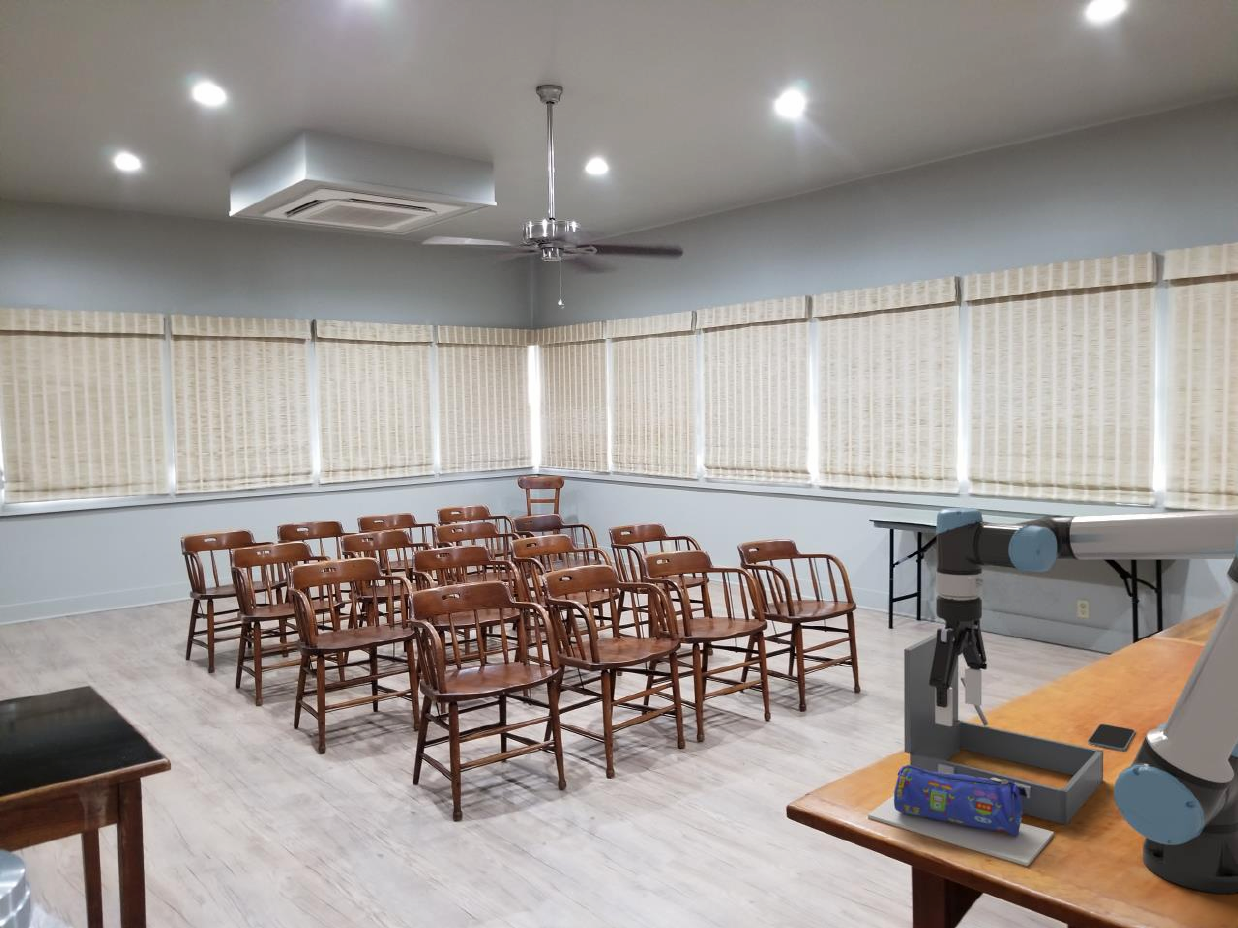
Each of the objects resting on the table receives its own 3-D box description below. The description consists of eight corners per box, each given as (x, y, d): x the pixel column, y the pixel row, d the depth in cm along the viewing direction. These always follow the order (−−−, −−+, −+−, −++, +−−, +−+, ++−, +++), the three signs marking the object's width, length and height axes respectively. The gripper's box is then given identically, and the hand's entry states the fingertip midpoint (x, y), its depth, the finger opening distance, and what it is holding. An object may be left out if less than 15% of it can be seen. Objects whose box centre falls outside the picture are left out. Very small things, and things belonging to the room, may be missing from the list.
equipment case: (1064, 826, 160) (1066, 677, 159) (902, 782, 180) (902, 649, 179) (1102, 780, 180) (1104, 647, 178) (952, 745, 200) (952, 625, 198)
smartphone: (1136, 729, 206) (1124, 749, 194) (1135, 733, 206) (1124, 753, 194) (1099, 723, 211) (1086, 741, 199) (1099, 726, 211) (1086, 745, 199)
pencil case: (1027, 825, 160) (1027, 773, 159) (1022, 846, 152) (1022, 791, 152) (900, 801, 170) (900, 752, 170) (889, 820, 163) (889, 768, 162)
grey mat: (1027, 866, 147) (1027, 862, 147) (868, 817, 165) (868, 814, 165) (1053, 835, 157) (1053, 831, 157) (900, 792, 176) (900, 789, 176)
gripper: (952, 611, 147) (952, 738, 148) (1005, 586, 166) (1004, 700, 167) (908, 605, 152) (909, 728, 153) (964, 582, 171) (964, 692, 172)
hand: (959, 713), depth 160 cm, fingers open, 13 cm apart
